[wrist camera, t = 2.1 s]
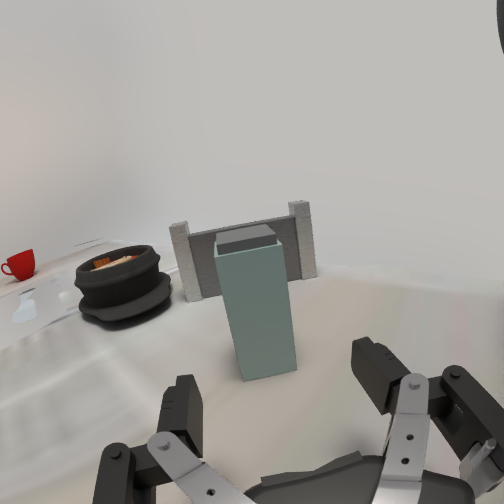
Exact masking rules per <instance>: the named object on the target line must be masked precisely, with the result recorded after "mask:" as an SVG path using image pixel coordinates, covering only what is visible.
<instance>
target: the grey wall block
mask: <svg viewBox="0 0 504 504" xmlns="http://www.w3.org/2000/svg"><path fill="white" fill-rule="evenodd" d="M288 204H289V212H290V216H285V217H278V218H272V219H267V220H261V221H255V222H250V223H245V224H239V225H234V226H228V227H223V228H218V229H213V230H208V231H203V232H197V233H192V234H190V232H189V227H188V222H187V221H185V222H180V223H175V224H172V225H171V226H170V227H169V230H170V234H171V239H172V243H173V247H174V252H175V256H176V260H177V264H178V268H179V272H180V276H181V280H182V283H183V287H184V291H185V295H186V298H187V302H193V301H199V300H203V298H207V297H212V296H218V295H222V291H221V287H220V282H219V277H218V273H217V268H216V263H215V259H214V248H215V242H216V233H220V232H225V231H230V230H236V229H241V228H246V227H252V226H257V225H263V224H266V225H267V226H268V227H269V228H270V229H271V230H273V231H274V232H275V233H276V237H277V240H278V241H279V242H280V243H281V244H282V245H283V253H284V260H285V268H286V276H287V282H288V281H292V280H297V279H302V280H304V279H309V278H313V277H317V274H316V262H315V252H314V242H313V233H312V224H311V215H310V207H309V202H307V201H303V200H301V201H295V202H288Z"/></svg>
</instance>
